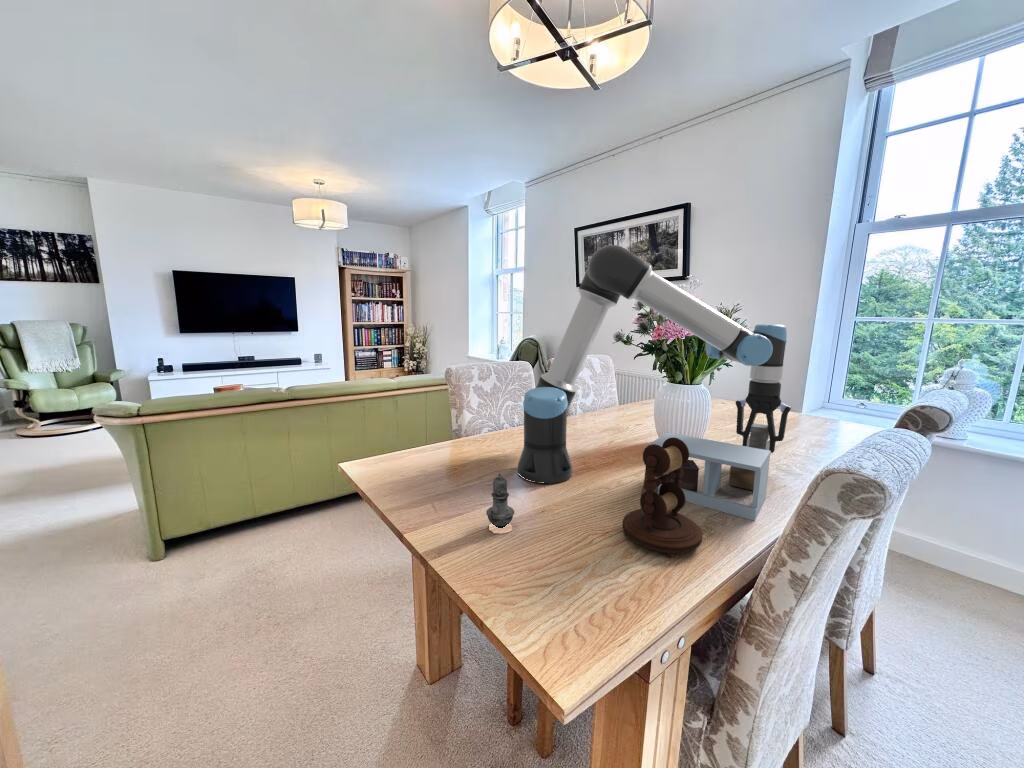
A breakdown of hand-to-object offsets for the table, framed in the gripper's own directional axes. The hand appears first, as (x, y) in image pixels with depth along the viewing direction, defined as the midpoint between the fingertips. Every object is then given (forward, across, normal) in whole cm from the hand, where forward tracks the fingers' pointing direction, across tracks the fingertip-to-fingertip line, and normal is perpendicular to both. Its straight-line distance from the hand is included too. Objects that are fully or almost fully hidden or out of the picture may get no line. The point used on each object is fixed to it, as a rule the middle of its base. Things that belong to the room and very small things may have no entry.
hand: (756, 460), depth 116 cm
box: (+2, +12, +30) cm, 32 cm away
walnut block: (+2, 0, +9) cm, 9 cm away
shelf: (+2, +6, +28) cm, 29 cm away
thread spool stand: (+2, +8, +54) cm, 55 cm away
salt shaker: (+2, +35, +72) cm, 80 cm away
